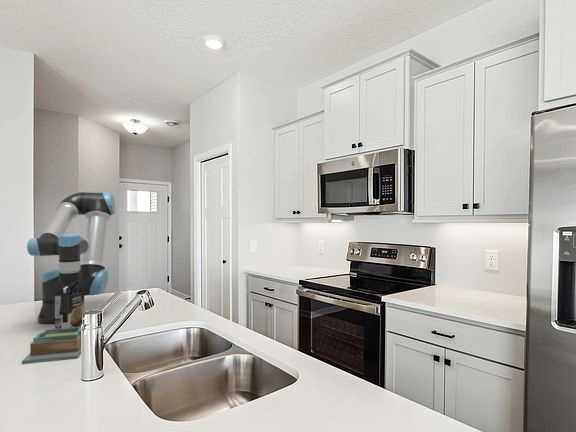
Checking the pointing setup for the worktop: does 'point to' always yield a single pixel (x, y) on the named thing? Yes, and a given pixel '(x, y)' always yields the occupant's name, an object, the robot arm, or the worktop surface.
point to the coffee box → (74, 311)
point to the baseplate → (51, 357)
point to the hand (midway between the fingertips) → (70, 326)
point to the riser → (56, 341)
